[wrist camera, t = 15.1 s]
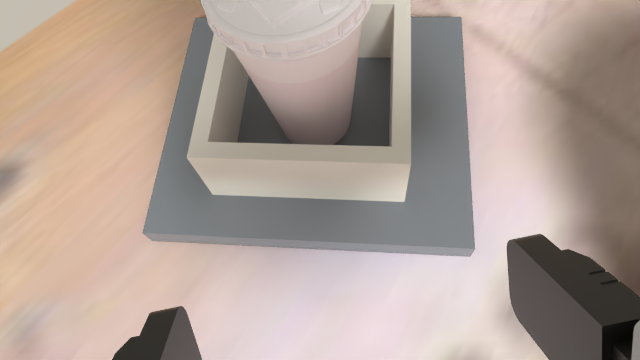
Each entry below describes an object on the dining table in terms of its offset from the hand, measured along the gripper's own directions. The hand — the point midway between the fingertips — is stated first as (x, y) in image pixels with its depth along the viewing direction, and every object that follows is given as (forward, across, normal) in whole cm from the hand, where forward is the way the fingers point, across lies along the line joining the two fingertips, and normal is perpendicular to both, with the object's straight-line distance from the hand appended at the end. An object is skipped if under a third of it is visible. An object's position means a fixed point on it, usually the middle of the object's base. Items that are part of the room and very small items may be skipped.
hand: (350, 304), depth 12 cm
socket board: (+16, 0, -1) cm, 17 cm away
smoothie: (+16, 0, -1) cm, 16 cm away
